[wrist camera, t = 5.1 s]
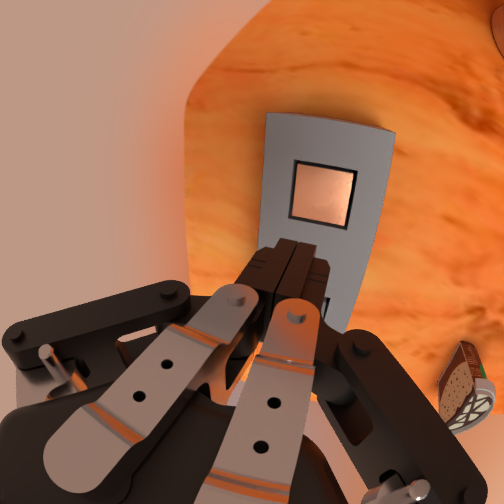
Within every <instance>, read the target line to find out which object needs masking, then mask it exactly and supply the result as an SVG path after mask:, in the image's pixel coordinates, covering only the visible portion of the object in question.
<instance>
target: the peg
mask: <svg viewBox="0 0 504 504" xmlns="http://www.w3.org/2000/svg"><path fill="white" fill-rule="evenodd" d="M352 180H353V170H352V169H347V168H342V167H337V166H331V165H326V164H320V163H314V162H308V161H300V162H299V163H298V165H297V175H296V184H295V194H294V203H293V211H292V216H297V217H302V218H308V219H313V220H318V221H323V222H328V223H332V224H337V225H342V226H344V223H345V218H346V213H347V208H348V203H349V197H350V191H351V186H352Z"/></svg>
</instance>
